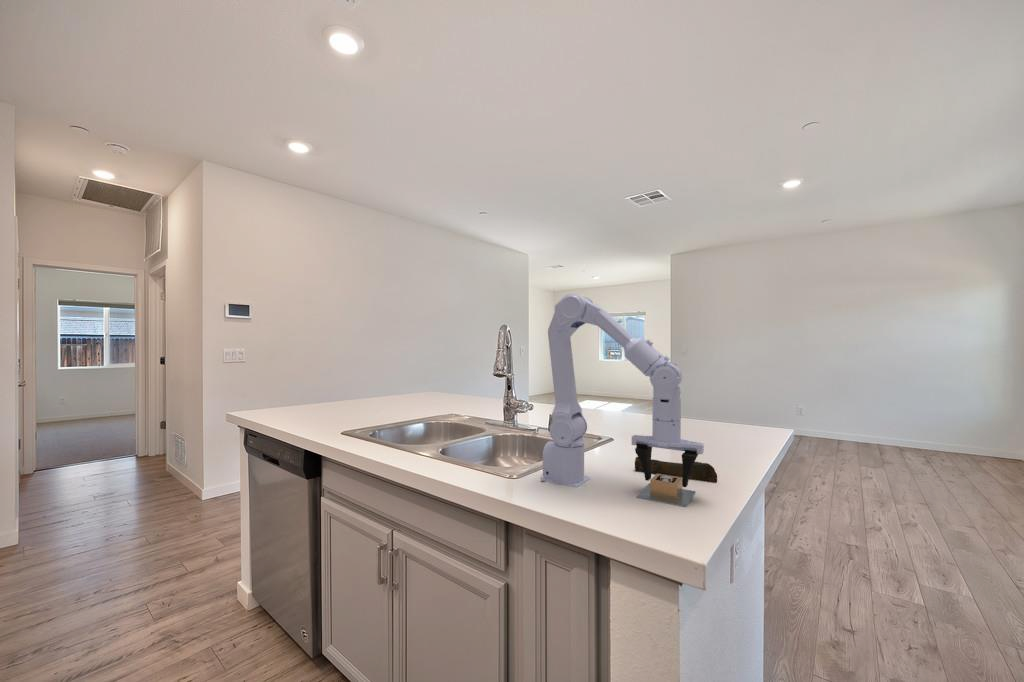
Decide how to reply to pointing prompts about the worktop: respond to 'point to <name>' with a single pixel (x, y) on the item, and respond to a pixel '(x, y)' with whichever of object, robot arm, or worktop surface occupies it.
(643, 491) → the piston plate
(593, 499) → the worktop surface
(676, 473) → the dark brown long piece
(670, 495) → the square wooden frame
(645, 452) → the robot arm
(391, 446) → the worktop surface
